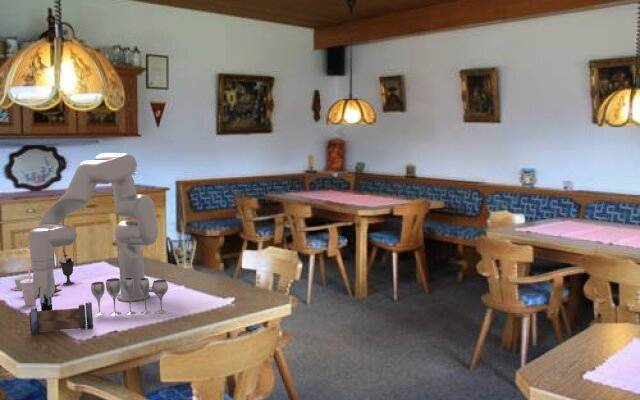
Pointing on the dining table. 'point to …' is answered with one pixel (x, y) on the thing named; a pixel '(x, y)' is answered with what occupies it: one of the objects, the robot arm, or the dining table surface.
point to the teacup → (17, 282)
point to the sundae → (67, 268)
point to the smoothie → (28, 291)
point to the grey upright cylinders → (35, 318)
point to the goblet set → (129, 292)
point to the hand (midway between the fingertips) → (47, 316)
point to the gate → (61, 319)
